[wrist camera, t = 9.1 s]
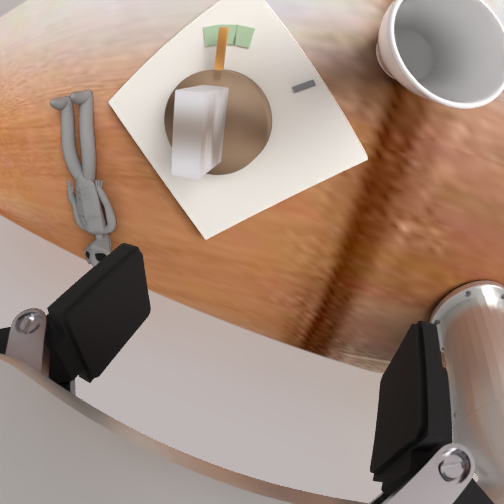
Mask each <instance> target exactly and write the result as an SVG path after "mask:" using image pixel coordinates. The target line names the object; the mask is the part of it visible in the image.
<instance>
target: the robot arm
mask: <svg viewBox="0 0 504 504" xmlns="http://www.w3.org/2000/svg"><path fill="white" fill-rule="evenodd" d="M150 309H151V308H150V301H149V295H148V289H147V282H146V276H145V269H144V262H143V255H142V253H141V252H140V250H139V248H138V247H136V246H133V245H129V244H126V243H123V244H121V245H120V246H118V247H117V248H116V249H115V250H114V251H112V252H111V253H110V254H109V255H107V256H106V257H105V258H104V259H103V260H101V261H100V262H99V263H98V264H97V265H96V266H94V267H93V268H92V269H91V270H90V271H89V272H87V273H86V274H85V275H84V276H83V277H82V278H81V279H79V280H78V281H77V282H76V283H75V284H74V285H72V286H71V287H70V288H69V289H68V290H67V291H66V292H65V293H64V294H62V295H61V296H60V297H59V298H58V299H57V300H56V301H55V302H54V303H53V304H51V305H50V306H49V307H48V312H49V314H48V315H47V316H46V315H45V313H44V312H43V311H42V310H41V309H37V308H31V309H27V310H24V311H22V312H21V313H19V314H18V315H17V316H16V317H15V319H14V320H13V322H12V325H11V327H8V328H3V329H0V504H367V503H362V502H357V501H350V500H345V499H339V498H333V497H328V496H323V495H318V494H314V493H309V492H305V491H301V490H296V489H292V488H288V487H284V486H280V485H276V484H272V483H269V482H265V481H262V480H259V479H255V478H252V477H249V476H246V475H242V474H239V473H236V472H233V471H230V470H227V469H225V468H222V467H219V466H216V465H214V464H211V463H208V462H206V461H203V460H201V459H198V458H195V457H193V456H190V455H188V454H186V453H183V452H181V451H179V450H176V449H174V448H172V447H169V446H167V445H165V444H163V443H161V442H159V441H156V440H154V439H152V438H150V437H148V436H146V435H144V434H142V433H140V432H138V431H136V430H134V429H132V428H130V427H128V426H127V425H125V424H123V423H121V422H119V421H117V420H115V419H114V418H112V417H110V416H108V415H106V414H105V413H103V412H101V411H100V410H98V409H96V408H94V407H92V406H91V405H89V404H88V403H86V402H84V401H83V400H81V399H80V398H78V397H76V395H75V378H76V377H77V375H79V377H81V378H83V379H84V380H86V381H87V382H89V383H90V382H91V381H92V380H93V379H94V378H96V377H98V376H100V375H101V373H102V372H103V371H104V370H105V368H106V367H107V366H108V365H109V363H110V362H111V361H112V360H113V358H114V357H115V356H116V355H117V353H118V352H119V351H120V350H121V348H122V347H123V346H124V345H125V344H126V342H127V341H128V340H129V339H130V338H131V336H132V335H133V334H134V333H135V331H136V330H137V329H138V328H139V327H140V326H141V324H142V323H143V322H144V321H145V320H146V318H147V317H148V315H149V314H150ZM441 352H443V353H444V355H445V361H446V368H447V370H446V368H443V367H442V359H441ZM451 414H452V417H451ZM452 429H453V443H452ZM370 472H371V473H374V477H373V481H378V482H383V483H382V489H381V490H382V491H383V492H382V493H381V494H380V495H378V496H377V497H376V498H375V499H374V500H372V501H371V502H370V503H369V504H504V286H503V285H501V284H499V283H497V282H494V281H488V280H487V281H475V282H471V283H468V284H465V285H463V286H461V287H459V288H457V289H455V290H454V291H452V292H451V293H449V294H448V295H447V296H446V297H445V298H444V299H442V300H441V301H440V303H439V304H438V305H437V306H436V308H435V309H434V311H433V313H432V315H431V318H430V321H429V322H424V321H419V322H418V323H417V324H412V325H411V327H410V329H409V330H408V332H407V334H406V336H405V338H404V340H403V342H402V343H401V345H400V347H399V349H398V350H397V352H396V354H395V356H394V357H393V359H392V361H391V362H390V364H389V366H388V368H387V369H386V371H385V372H384V374H383V377H382V379H381V382H380V392H379V403H378V413H377V422H376V431H375V439H374V446H373V453H372V460H371V466H370ZM474 473H476V474H477V476H478V478H479V480H478V482H475V481H474V480H473V478H472V477H473V475H474Z"/></svg>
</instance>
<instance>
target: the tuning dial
mask: <svg viewBox="0 0 504 504" xmlns="http://www.w3.org/2000/svg"><path fill="white" fill-rule="evenodd" d="M228 30H229V28H227V27H219V33H218V41H217V49H216V57H215V66H214V70H205V71H201V72H197V73H195V74H192V75H190V76H189V77H187V78H185V79H184V80H183V81H181V82H180V83H179V84H178V85H177V86H176V88H175V89H174V90H173V92H172V93H171V95H170V97H169V99H168V102H167V104H166V109H165V115H164V125H165V131H166V135H167V138H168V141H169V143H170V145H171V147H172V172H171V175H176V176H181V177H185V178H190V179H195V180H199V179H200V178H201V177H202V176H204V175H205V174H211V175H226V174H230V173H234V172H237V171H239V170H241V169H243V168H244V167H246V166H247V165H248V164H250V163H251V162H252V161H253V160H254V159H255V158H256V157H257V156H258V155H259V154H260V153H261V152H262V150H263V149H264V148H265V146H266V144H267V142H268V140H269V137H270V134H271V130H272V113H271V108H270V105H269V102H268V100H267V98H266V95H265V94H264V92H263V91H262V89H261V88H260V87H259V86H258V85H257V84H256V83H255V82H254V81H253V80H252V79H250V78H248V77H247V76H245V75H243V74H241V73H239V72H236V71H232V70H226V69H224V61H225V53H226V45H227V37H228Z"/></svg>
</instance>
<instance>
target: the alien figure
mask: <svg viewBox="0 0 504 504" xmlns="http://www.w3.org/2000/svg"><path fill="white" fill-rule="evenodd" d="M72 102H73V103H75V104H80V111H79V134H80V145H81V156H82V165H81V163H80V161H79V158H78V155H77V151H76V145H75V129H74V111H73V103H72ZM50 105H51V106H52V107H53V108H55V109H57V110H61V142H62V151H63V156H64V159H65V162H66V165H67V167H68V169H69V171H70V173H71V174H72V176H73V177H74V179H75V193H76V198H75V195H74V192H73V186H72V187H71V181H70V182H69V181H67V187H68V199H69V201H70V203H71V205H72V208H73V214H74V218H75V221H76V224H77V225H78V226H79V227H80V228H81V229H82V230H84V231H87V232H89V233H91V234H94V235H95V237H96V239H95V240H94V241H93V242H91V243H90V244H89V245H88V246H87V247H86V248H85V257H86V259H87V261H88V264H92V265H93V266H96V265H97V264H98V263H99V262H100V261H101V260H103V259H104V258H105V257H106V256H107V255H109V254H110V253H111V239H110V236H109V234H108V233H111V232H112V231H114V229H115V227H116V217H115V214H114V211H113V208H112V206H111V204H110V201H109V199H108V197H107V195H106V193H105V192H104V190H103V189H102V183H103V180H101V185H100V181H99V180H98V185H97V180H96V181H95V174H96V148H95V135H94V122H93V93H92V92H91V91H90V90H85V91H79V92H74V93H72V94H71V95H70V97H68V96H65V97H59V98H55V99H52V100H51V102H50ZM95 183H96V184H95ZM69 184H70V185H69ZM100 200H101V201H100ZM101 202H102V203H103V205H104V208H105V214H106V219H107V225H106V222H105V218H104V214H103V210H102V206H101ZM89 261H90V263H89Z"/></svg>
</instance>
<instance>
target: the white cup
mask: <svg viewBox="0 0 504 504" xmlns="http://www.w3.org/2000/svg"><path fill="white" fill-rule="evenodd" d="M376 56H377V60H378V62H379V64H380V66H381V68H382V69H383V70H384V72H385V73H386V74H387V75H389V76H390V77H391V78H393V79H395V80H396V81H398V82H399V83H400V84H401V85H402V86H403V87H405V88H406V89H408V90H409V91H411V92H412V93H414V94H416V95H417V96H419V97H421V98H424V99H426V100H428V101H431V102H434V103H437V104H440V105H445V106H448V107H452V108H459V109H472V108H477V107H480V106H483V105H486V104H488V103H489V102H491V101H492V100H494V99H495V98H496V97H497V96H498V95H499V94H500V93H501V92H502V90H503V89H504V28H503V26H502V24H501V22H500V20H499V19H498V17H497V16H496V15H495V13H494V12H493V11H492V9H491V8H490V7H489V6H488V5H487V4H486V3H485V2H484V1H483V0H394V1H393V2H392V4H391V5H390V6H389V8H388V9H387V11H386V12H385V14H384V16H383V18H382V21H381V24H380V28H379V34H378V42H377V45H376Z"/></svg>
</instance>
